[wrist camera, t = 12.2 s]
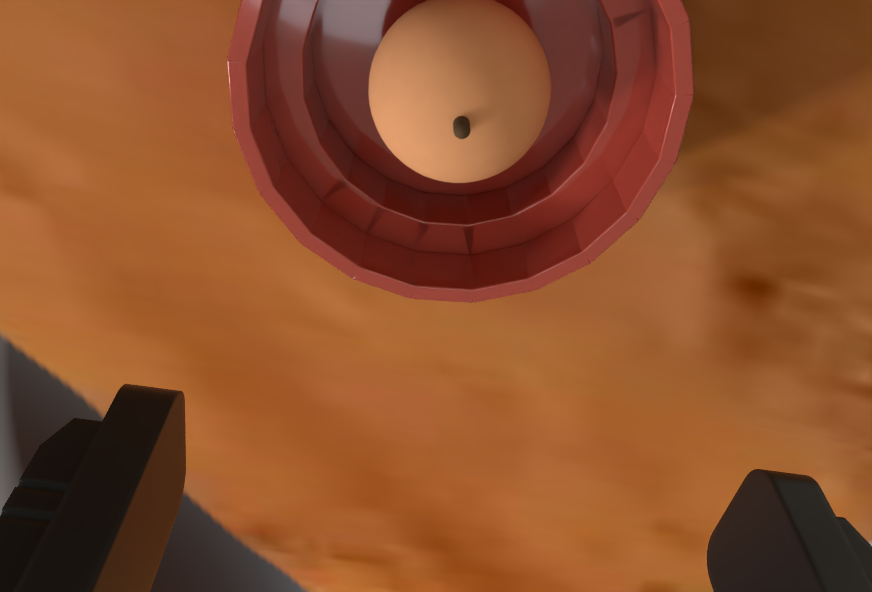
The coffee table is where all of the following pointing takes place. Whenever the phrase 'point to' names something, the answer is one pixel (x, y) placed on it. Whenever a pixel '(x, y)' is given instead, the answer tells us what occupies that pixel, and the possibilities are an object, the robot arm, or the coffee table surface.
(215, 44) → the coffee table surface
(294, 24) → the bowl
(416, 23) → the peach
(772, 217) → the coffee table surface
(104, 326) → the coffee table surface
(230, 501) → the coffee table surface
